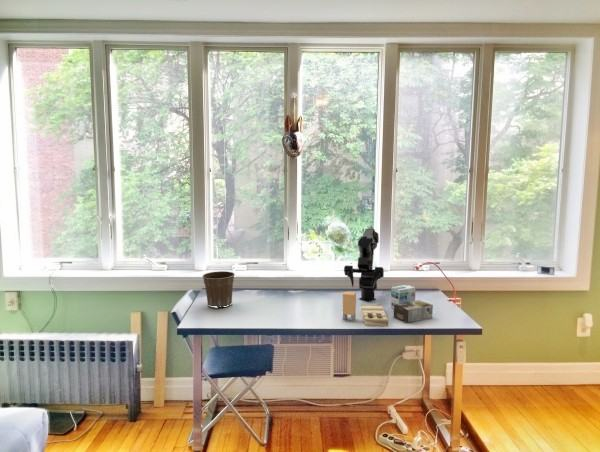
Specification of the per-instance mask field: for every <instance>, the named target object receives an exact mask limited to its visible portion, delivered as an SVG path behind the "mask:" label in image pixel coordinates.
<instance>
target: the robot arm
mask: <svg viewBox="0 0 600 452" xmlns="http://www.w3.org/2000/svg"><path fill="white" fill-rule="evenodd" d="M379 242H380V237H379V233H378V232H376V230H375V228H365V230H364V232H363V234H362V235H361V236H360V237H359V239H358V241H357V246H358V251H359V256H358V258H357V268H354V266H353V265H345V266H344V267H343V272H344V275H345V276H347V278H349V279H350V283H351V286H352V288H353V287H354V285H355V284H354V283H355V282H354V274H355V273H356V274H360V277H359V279H358V288H359V289H360V290H361V292H360V293H361V295H360V297H359V298H358V299H359V300H361V301H365V302H367V303H369V302H371V301H375V300H376V299H377V298H376V297H375V290H378V283H377V282H378V280H381V278H384V277H385V276H384V274H385V273H384V272H385V271H384V268H383V267H382V266H375V267H374V269H373V265H374V253H375V250H376V248H377V246H378V244H379Z"/></svg>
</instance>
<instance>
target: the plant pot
mask: <svg viewBox="0 0 600 452" xmlns="http://www.w3.org/2000/svg"><path fill="white" fill-rule="evenodd" d="M235 275H236V274H235V272H233V271H225V270H224V271H211V272H207V273H204V274H202V278H203V283H204V286H205V293H206V294H205V295H206V299H207V300H206V301H207V306H208V305H210V306H217V307H220V306H227V305H230V304H231V303H232V304H233V287H234V279H235ZM230 306H231V305H230ZM220 308H221V307H220Z"/></svg>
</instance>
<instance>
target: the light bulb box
mask: <svg viewBox="0 0 600 452" xmlns="http://www.w3.org/2000/svg"><path fill="white" fill-rule="evenodd" d="M390 291H391V292H390V308H391V309H393V310H394V305H395V304H400V303H405V302H410V301H415V300H416V291H417V290H416V287H415V286H411V285H409V284H404V285H403V284H402V285H397V286H391V290H390Z"/></svg>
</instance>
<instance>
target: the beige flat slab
mask: <svg viewBox="0 0 600 452" xmlns="http://www.w3.org/2000/svg"><path fill="white" fill-rule="evenodd" d="M360 312H361V315H362V316H361V317H362V320H363V322H364V326H367V327H369V326H371V327H372V326H374V327H375V326H378V327H380V326H381V327H388V326H389V320H388V317H387V315H386V312H385V310H384V308H383V306H382V304H361V305H360Z"/></svg>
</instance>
